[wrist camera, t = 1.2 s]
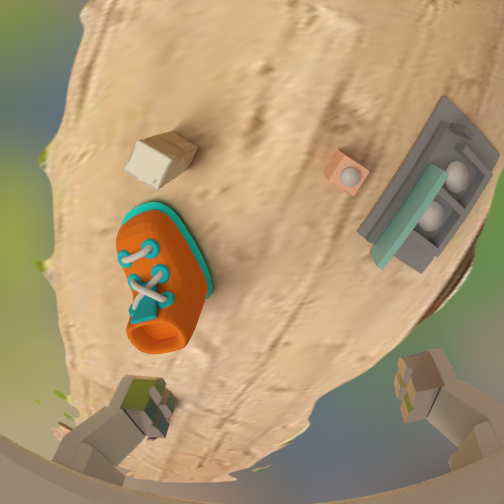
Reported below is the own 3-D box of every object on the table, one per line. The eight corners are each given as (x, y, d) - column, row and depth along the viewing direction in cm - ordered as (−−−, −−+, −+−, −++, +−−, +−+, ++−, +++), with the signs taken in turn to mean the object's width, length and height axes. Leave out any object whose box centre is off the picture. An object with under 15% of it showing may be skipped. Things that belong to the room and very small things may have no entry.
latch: (429, 163, 37) (443, 170, 33) (435, 167, 37) (449, 175, 33) (369, 251, 44) (376, 266, 40) (374, 255, 44) (382, 269, 41)
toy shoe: (171, 189, 44) (128, 228, 31) (224, 290, 52) (207, 353, 39) (114, 216, 47) (64, 259, 34) (167, 306, 55) (140, 364, 42)
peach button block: (337, 149, 39) (346, 156, 34) (360, 163, 40) (371, 172, 34) (323, 172, 41) (329, 182, 36) (345, 186, 41) (355, 198, 36)
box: (199, 146, 40) (174, 161, 31) (186, 171, 42) (158, 193, 33) (169, 129, 39) (136, 139, 30) (157, 154, 41) (122, 171, 32)
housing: (441, 95, 33) (461, 97, 28) (496, 154, 35) (517, 162, 30) (356, 230, 44) (365, 247, 39) (419, 270, 47) (431, 289, 42)
